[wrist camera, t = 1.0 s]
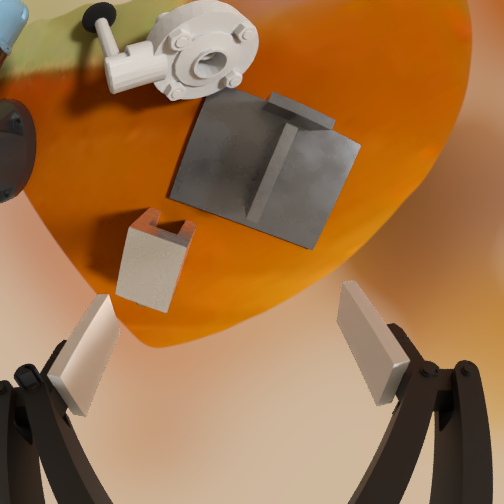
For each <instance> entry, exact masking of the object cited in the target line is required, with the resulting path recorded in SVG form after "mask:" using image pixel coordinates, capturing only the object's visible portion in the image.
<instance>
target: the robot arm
mask: <svg viewBox="0 0 504 504" xmlns="http://www.w3.org/2000/svg"><path fill="white" fill-rule="evenodd" d="M28 16H29V11H28V8H27V6H26V5H25V4H24V3H23V2H21V1H20V0H0V68H1V66H2V64H3V62H4V61H5V59H6V57H7V56H8V55H9V54H10V53H11V48H12V47H13V45H14V43H15V41H16V40H17V38H18V36H19V34H20V33H21V31H22V30H23V28H24V26H25V25H26V23H27V20H28ZM35 155H36V133H35V127H34V123H33V119H32V117H31V114H30V113H29V111H28V109H27V108H26V107H25V105H24V104H22V103H21V102H19V101H17V100H14V99H0V203H3V202H6V201H8V200H10V199H12V198H14V197H16V196H17V195H18V194H19V193H20V192H21V191H22V190H23V189H24V187H25V186H26V184H27V182H28V180H29V178H30V175H31V173H32V169H33V166H34V161H35ZM337 323H338V325H339V327H340V329H341V331H342V333H343V335H344V337H345V339H346V341H347V343H348V345H349V347H350V349H351V352H352V354H353V356H354V357H355V360H356V362H357V364H358V366H359V368H360V371H361V372H362V375H363V377H364V379H365V381H366V383H367V385H368V388H369V390H370V392H371V394H372V397H373V399H374V401H375V403H376V406H380V405H384V404H387V403H391V402H392V401H393V398H394V396H395V394H396V396H397V398H398V400H399V401H398V403H397V405H396V407H395V409H394V411H393V413H392V414H393V415H392V418H391V420H390V423H389V425H388V427H387V430H386V432H385V434H384V436H383V438H382V441H381V443H380V445H379V447H378V449H377V451H376V453H375V455H374V457H373V459H372V461H371V463H370V465H369V467H368V469H367V471H366V473H365V475H364V476H363V478H362V480H361V482H360V484H359V485H358V487H357V489H356V491H355V492H354V494H353V496H352V497H351V499H350V501H349V502H348V504H399V503H400V501H401V499H402V497H403V495H404V492H405V490H406V488H407V485H408V483H409V481H410V478H411V476H412V473H413V471H414V468H415V465H416V463H417V460H418V457H419V454H420V452H421V449H422V446H423V443H424V440H425V436H426V433H427V430H428V426H429V423H430V419H431V416H432V412H433V411H434V412H435V440H434V441H435V442H434V464H433V478H432V487H431V496H430V503H429V504H492V501H493V470H492V469H493V468H492V451H491V439H490V430H489V423H488V416H487V410H486V403H485V397H484V392H483V387H482V382H481V377H480V373H479V370H478V368H477V366H476V365H475V364H474V363H472V362H470V361H466V360H463V361H459V362H458V363H457V364H456V366H455V368H454V369H439V367H438V366H437V365H436V364H435V363H433V362H430V361H425V360H424V359H423V358H422V356H421V355H420V353H419V352H418V350H417V349H416V347H415V346H414V345H413V343H412V342H411V341H410V339H409V338H408V337H407V335H406V333H405V332H404V331H403V329H402V328H400V327H399V326H398V325H396V324H394V323H392V324H387V325H386V324H385V322H384V321H383V319H382V318H381V316H380V315H379V313H378V312H377V311H376V309H375V308H374V306H373V305H372V303H371V302H370V301H369V299H368V298H367V296H366V295H365V294H364V292H363V291H362V290H361V288H360V287H359V285H358V284H357V283H356V281H355V280H353V281H343V282H342V287H341V295H340V302H339V310H338V317H337ZM120 333H121V331H120V328H119V325H118V322H117V319H116V316H115V313H114V310H113V306H112V303H111V300H110V297H109V294H98V295H97V296H96V298H95V299H94V300H93V302H92V303H91V305H90V306H89V308H88V309H87V311H86V312H85V314H84V315H83V317H82V318H81V320H80V321H79V323H78V325H77V326H76V327H75V329H74V331H73V332H72V334H71V335H70V337H69V339H68V340H63V341H62V342H61V343H60V344H58V345H57V347H56V348H55V350H54V351H53V354H51V356H50V359H49V360H48V361H47V363H46V364H45V366H44V368H43V369H42V371H41V373H40V374H39V372H38V370H37V369H36V367H35V366H34V365H33V364H25V365H22V366H21V367H19V368H18V369H17V370H16V372H15V374H14V379H15V381H16V382H17V383H18V385H19V387H15V388H13V387H12V385H11V384H10V382H9V381H7V380H2V381H0V504H45V499H44V493H43V487H42V480H41V473H40V464H39V457H40V460H41V463H42V465H43V468H44V471H45V474H46V476H47V479H48V481H49V484H50V486H51V489H52V491H53V493H54V496H55V498H56V500H57V502H58V504H113V503H112V501H111V499H110V498H109V497H108V495H107V493H106V491H105V490H104V488H103V486H102V485H101V483H100V481H99V479H98V478H97V476H96V474H95V472H94V470H93V468H92V467H91V465H90V463H89V461H88V459H87V457H86V455H85V453H84V451H83V449H82V447H81V445H80V442H79V440H78V438H77V436H76V434H75V431H74V429H73V427H72V424H71V422H70V419H69V417H68V416H67V414H66V413H65V412H66V410H67V408H69V409H70V410H71V412H72V413H73V414H74V415H79V416H84V417H86V415H87V413H88V410H89V407H90V405H91V402H92V400H93V397H94V395H95V392H96V389H97V387H98V384H99V382H100V380H101V377H102V374H103V372H104V370H105V368H106V365H107V363H108V361H109V358H110V356H111V354H112V351H113V349H114V347H115V345H116V342H117V340H118V338H119V336H120Z"/></svg>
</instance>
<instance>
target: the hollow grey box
mask: <svg viewBox="0 0 504 504" xmlns="http://www.w3.org/2000/svg"><path fill="white" fill-rule="evenodd" d="M160 213H161V211H159V210H157V209H154V208H151V207H150V208H149V209H148V210H147V211H146V212H144V213H143V214H142V215H141V216H140V217H139V218H138V219H137V220H136V221H135V222H134V223H133V224H131V225H130V226H129V229H128V233H127V237H126V242H125V246H124V251H123V256H122V261H121V266H120V271H119V276H118V282H117V288H116V295H118V296H121V297H123V298H126V299H129V300H131V301H134V302H136V303H137V304H138V305H139V306H142V307H146V306H148V307H150V308H153V309H156V310H159V311H162V312H165V313H167V311H168V308H169V305H170V303H171V300H172V297H173V294H174V291H175V289H176V286H177V283H178V280H179V277H180V274H181V271H182V268H183V265H184V262H185V259H186V255H187V252H188V249H189V246H190V243H191V240H192V237H193V235H194V232H195V229H196V226H197V224H196V223H194V222H191V221H188V220H186V221H185V223H184V224H183V226H182V228H181V230H180V231H179V233H178V235H177V234H174V233H171V232H168V231H165V230H162V229H160V228H157V227H156V226H157V223H158V220H159V216H160Z"/></svg>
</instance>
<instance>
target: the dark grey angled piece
mask: <svg viewBox="0 0 504 504" xmlns="http://www.w3.org/2000/svg"><path fill="white" fill-rule="evenodd" d="M335 121H336V120H334V119H332V118H330V117H328V116H326V115H324V114H322V113H320V112H318V111H316V110H314V109H311V108H309V107H307V106H305V105H303V104H301V103H298V102H296V101H294V100H291V99H289V98H287V97H284V96H282V95H280V94H277V93H275V92H272V93H271V94H270V95H269V97H268V98H267V99H266V100H264V99H261V98H259V97H256V96H253V95H251V94H248V93H245V92H242V91H240V90H237V89H234V88H229V87H225V88H223V89H222V90H219V91H217V92H215V93H213V94H210V95H208V96H207V97H206V100H205V102H204V104H203V107H202V109H201V112H200V114H199V117H198V119H197V122H196V124H195V127H194V129H193V132H192V135H191V137H190V140H189V143H188V145H187V148H186V151H185V153H184V156H183V159H182V162H181V165H180V168H179V170H178V173H177V176H176V179H175V182H174V185H173V188H172V191H171V195H170V199H173V200H176V201H179V202H182V203H185V204H187V205H190V206H193V207H196V208H199V209H202V210H204V211H207V212H210V213H213V214H216V215H218V216H221V217H224V218H227V219H230V220H232V221H235V222H238V223H241V224H243V225H246V226H249V227H251V228H254V229H257V230H260V231H262V232H265V233H268V234H270V235H273V236H276V237H278V238H281V239H284V240H287V241H289V242H292V243H294V244H297V245H300V246H302V247H305V248H308V249H310V250H313V248H314V246H315V244H316V242H317V240H318V238H319V236H320V234H321V232H322V230H323V228H324V226H325V224H326V222H327V219H328V217H329V215H330V213H331V211H332V209H333V207H334V205H335V202H336V200H337V198H338V196H339V194H340V192H341V189H342V187H343V185H344V183H345V181H346V178H347V176H348V174H349V172H350V169H351V167H352V165H353V163H354V160H355V158H356V156H357V153H358V151H359V149H360V147H361V145H360V144H358V143H356V142H354V141H352V140H350V139H348V138H347V137H345V136H343V135H341V134H339V133H337V132H335V131H333V130H332V128H333V125H334V123H335Z"/></svg>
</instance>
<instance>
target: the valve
mask: <svg viewBox="0 0 504 504" xmlns="http://www.w3.org/2000/svg"><path fill="white" fill-rule="evenodd" d="M115 19H116V10H115V8H114V7H113V5H111V4H109V3H106V2H101V3H96V4H94V5H92V6H90V7H89V8H88V9H87V10H86V11H85V13H84V15H83V18H82V25H83V27H84V28H85V29H86V30H87V31H89V32H91V33H97V34H98V37H99V41H100V44H101V47H102V51H103V54H104V57H105V58H104V66H105V74H106V79H107V83H108V87H109V90H110V93H112V94H116V93H119V92H122V91H125V90H129V89H132V88H135V87H138V86H142V85H145V84H149V83H152V82H153V83H154V84H155V86H156V87H157V89H158V90H160V91H161V92H162V93H163V94H165V95H166V96H167V97H168V98H169V99H170V100H171V101H176V100H178V99H195V98H200V97H204V96H208V95H210V94H213V93H215V92H217V91H219V90H222V89H223V88H225V87H229V88H234V87H236V86H238V85H239V84H240V83H241V82H242V77H243V76H242V74H243V73H244V72H245V71H246V70H247V68H248V67H249V66H250V64H251V63H252V61H253V60H254V58H255V55H256V53H257V49H258V44H259V39H258V34H257V30H256V28H255V26H254V25H253V24H252V23H251V22H250V21H249V20H248V19H247V18H245V17H244V16H243V15H242V14H241V13H240V12H238V11H237V10H236V9H235V8H233V7H232V6H230V5H228V4H226V3H223V2H220V1H217V0H200V1H195V2H191V3H188V4H185V5H182V6H180V7H177V8H175V9H174V10H172V11H171V12H169V13H168V12H166V13H162V14H160V15H159V16H158V17H157V18H156V21H155V23H156V24H155V26H154V27H153V28H152V30H151V31H150V33H149V34H148V36H147V38H146V41H143V42H139V43H135V44H131V45H127V46H126V47H125V49H124V52H122V53H120V52H119V49H118V47H117V45H116V42H115V40H114V37H113V35H112V32H111V30H110V27H111V26H112V24H113V23H114V21H115Z"/></svg>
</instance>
